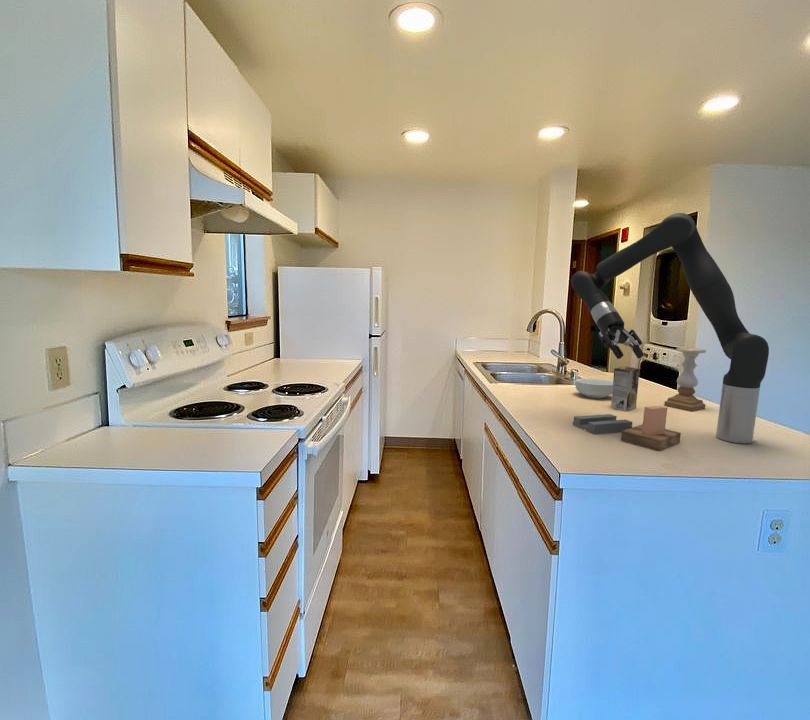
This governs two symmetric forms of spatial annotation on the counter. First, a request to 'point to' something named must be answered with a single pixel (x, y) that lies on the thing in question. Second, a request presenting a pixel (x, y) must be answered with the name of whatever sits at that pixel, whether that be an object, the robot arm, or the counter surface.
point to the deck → (650, 438)
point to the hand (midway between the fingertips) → (631, 357)
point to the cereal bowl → (594, 387)
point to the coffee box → (625, 388)
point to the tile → (654, 420)
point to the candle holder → (687, 383)
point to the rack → (601, 423)
